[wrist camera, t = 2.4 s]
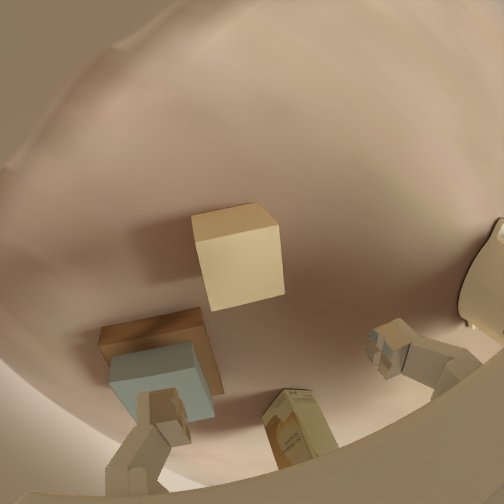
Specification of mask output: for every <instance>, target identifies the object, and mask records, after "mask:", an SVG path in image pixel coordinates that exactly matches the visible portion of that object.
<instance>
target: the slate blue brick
mask: <svg viewBox="0 0 504 504" xmlns="http://www.w3.org/2000/svg"><path fill="white" fill-rule="evenodd" d="M108 383H109V385H110V386H111V388H112V389H113V391H114V392H115V394H116V395H117V397H118V398H119V399H120V401H121V402H122V404H123V405H124V406H125V408H126V409H127V411H128V412H129V413H130V415H131V416H132V417H133V419H134V420H135V421H136V423H137V395H138V393H143V392H150V391H156V390H162V389H168V388H176V390H177V392H178V396H179V399H181V400H182V402H183V404H184V407H185V410H186V414H187V419H188V422H187V423H189V422H194V421H199V420H204V419H209V418H213V417H215V412H214V407H213V403H212V398H211V393H210V390H209V388H208V385H207V383H206V380H205V377H204V375H203V372H202V369H201V367H200V364H199V361H198V359H197V356H196V353H195V350H194V348H193V345H192V342H191V341H189V342H184V343H180V344H175V345H170V346H165V347H160V348H155V349H150V350H145V351H140V352H134V353H129V354H123V355H118V356H112V358H111V365H110V372H109V380H108Z"/></svg>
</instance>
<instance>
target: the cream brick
mask: <svg viewBox="0 0 504 504" xmlns="http://www.w3.org/2000/svg"><path fill="white" fill-rule="evenodd" d="M191 220H192V227H193V233H194V240H195V245H196V249H197V254H198V258H199V262H200V267H201V271H202V275H203V279H204V283H205V288H206V292H207V296H208V300H209V304H210V308H211V312H213V311H217V310H221V309H226V308H230V307H234V306H239V305H243V304H247V303H251V302H255V301H259V300H263V299H267V298H271V297H275V296H279V295H283V294H285V289H284V277H283V266H282V254H281V244H280V233H279V225H278V223H277V222H276V221H275V220H274V219H273V218H272V217H271V216H270V215H269V214H268V213H267V211H266V210H265V209H264V208H263V207H262V206H261V205H260V204H259V203H258V202H256V203H251V204H246V205H241V206H236V207H231V208H226V209H221V210H216V211H211V212H207V213H202V214H197V215H193V216H191Z"/></svg>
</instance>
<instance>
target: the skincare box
mask: <svg viewBox="0 0 504 504" xmlns="http://www.w3.org/2000/svg"><path fill="white" fill-rule="evenodd" d="M262 421H263V424H264V427H265V430H266V433H267V436H268V439H269V442H270V445H271V448H272V451H273V454H274V457H275V460H276V463H277V466H278V469H279V470H280V469H284V468H287V467H290V466H293V465H296V464H299V463H302V462H305V461H308V460H310V459H313V458H316V457H318V456H321V455H324V454H326V453H329V452H331V451H334V450H336V449H339V446H338V444H337V442H336V440H335V438H334V436H333V434H332V432H331V430H330V428H329V426H328V423H327V421H326V419H325V417H324V415H323V413H322V411H321V409H320V407H319V405H318V403H317V401H316V399H315V396H314V394H313V392H312V391H305V390H287V389H284V390H283V391H282V392H281V393H280V395H279V396H278V397H277V398H276V399H275V401H274V402H273V403H272V404H271V406H270V407H269V408H268V410H267V411H266V412H265V414H264V415H263V416H262Z"/></svg>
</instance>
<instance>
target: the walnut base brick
mask: <svg viewBox="0 0 504 504" xmlns="http://www.w3.org/2000/svg"><path fill="white" fill-rule="evenodd" d="M189 341H191V342H192V345H193V348H194V350H195V353H196V356H197V359H198V361H199V364H200V367H201V369H202V372H203V375H204V377H205V380H206V383H207V385H208V388H209V390H210V393H211V396H216V395H220V394H224V390H223V386H222V381H221V377H220V374H219V370H218V367H217V364H216V361H215V358H214V354H213V351H212V348H211V344H210V341H209V338H208V334H207V331H206V327H205V324H204V320H203V317H202V313H201V310H200V307H198V308H194V309H189V310H185V311H180V312H176V313H171V314H166V315H161V316H157V317H152V318H147V319H142V320H137V321H132V322H127V323H122V324H117V325H111V326H106V327H102V330H101V334H100V338H99V343H98V347H99V349H100V351H101V353H102V355H103V356H104V358H105V360H106V361H107V363H108V365H109V367H110V365H111V358H112V356H118V355H123V354H129V353H134V352H140V351H145V350H150V349H155V348H160V347H165V346H170V345H175V344H180V343H184V342H189Z"/></svg>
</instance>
